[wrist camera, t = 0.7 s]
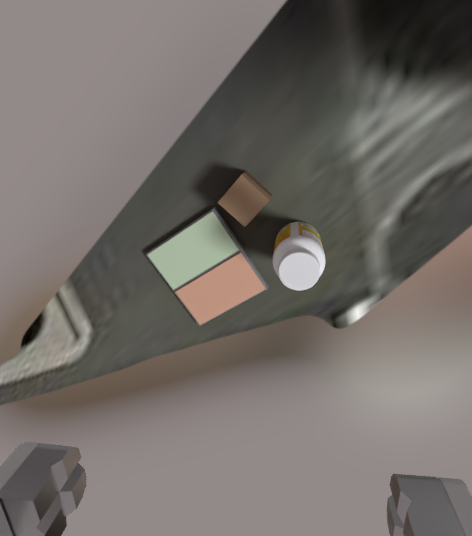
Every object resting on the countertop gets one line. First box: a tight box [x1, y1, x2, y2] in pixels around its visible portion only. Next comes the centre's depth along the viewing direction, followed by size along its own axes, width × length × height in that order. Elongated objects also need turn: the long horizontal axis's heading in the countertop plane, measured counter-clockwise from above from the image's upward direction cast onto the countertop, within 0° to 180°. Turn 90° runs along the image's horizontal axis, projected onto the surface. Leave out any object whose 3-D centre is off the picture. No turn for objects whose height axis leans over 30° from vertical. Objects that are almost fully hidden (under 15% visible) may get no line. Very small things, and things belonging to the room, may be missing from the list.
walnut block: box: [218, 171, 272, 227], centre depth 40 cm, size 4×4×4 cm
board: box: [146, 207, 269, 326], centre depth 46 cm, size 11×12×1 cm
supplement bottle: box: [273, 222, 325, 290], centre depth 39 cm, size 5×5×10 cm
